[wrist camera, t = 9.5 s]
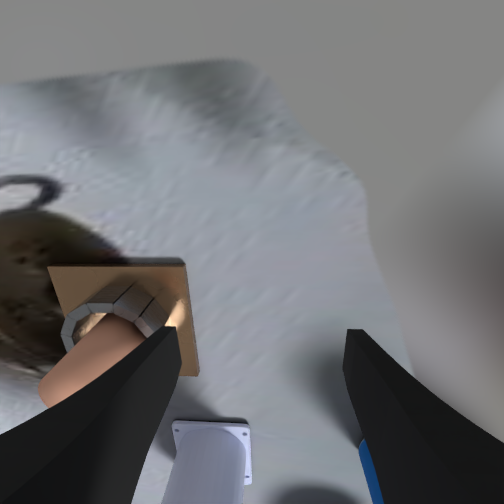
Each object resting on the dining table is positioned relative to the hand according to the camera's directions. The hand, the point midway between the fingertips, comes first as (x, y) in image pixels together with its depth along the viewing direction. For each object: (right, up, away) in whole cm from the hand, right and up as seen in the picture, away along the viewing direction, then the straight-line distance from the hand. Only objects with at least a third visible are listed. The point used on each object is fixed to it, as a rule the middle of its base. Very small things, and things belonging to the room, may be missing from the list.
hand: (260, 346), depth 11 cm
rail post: (-11, -2, +11) cm, 16 cm away
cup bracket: (-11, -2, +12) cm, 16 cm away
